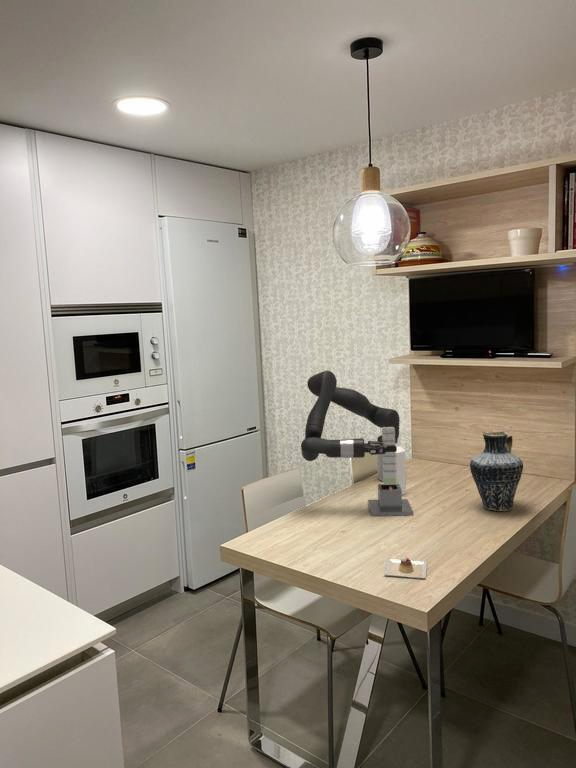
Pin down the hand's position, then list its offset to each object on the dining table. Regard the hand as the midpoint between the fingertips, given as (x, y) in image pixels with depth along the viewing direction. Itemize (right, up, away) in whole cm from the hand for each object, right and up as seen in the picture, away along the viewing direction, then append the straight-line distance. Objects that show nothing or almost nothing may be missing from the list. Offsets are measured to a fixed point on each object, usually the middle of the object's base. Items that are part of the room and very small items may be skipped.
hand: (395, 447), depth 239 cm
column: (-2, -14, +2) cm, 15 cm away
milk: (+4, -23, +23) cm, 32 cm away
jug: (+40, -24, 0) cm, 46 cm away
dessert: (-6, -32, -53) cm, 63 cm away
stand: (-2, -25, +3) cm, 25 cm away
